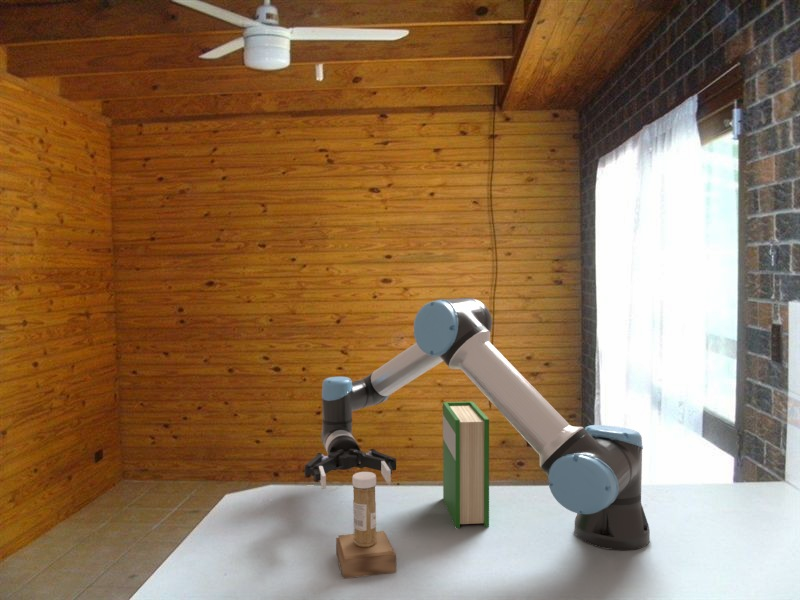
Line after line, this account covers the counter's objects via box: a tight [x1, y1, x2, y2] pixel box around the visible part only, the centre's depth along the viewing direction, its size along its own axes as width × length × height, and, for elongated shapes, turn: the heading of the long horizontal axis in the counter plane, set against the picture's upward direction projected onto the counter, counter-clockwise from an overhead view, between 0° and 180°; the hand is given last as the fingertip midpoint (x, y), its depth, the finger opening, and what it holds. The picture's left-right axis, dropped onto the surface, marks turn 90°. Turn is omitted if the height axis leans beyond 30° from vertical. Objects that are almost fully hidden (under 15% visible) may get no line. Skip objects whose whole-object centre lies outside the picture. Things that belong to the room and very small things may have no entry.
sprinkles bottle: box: [351, 471, 377, 547], centre depth 122 cm, size 5×5×13 cm
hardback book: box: [442, 401, 490, 529], centre depth 147 cm, size 18×7×24 cm, turn 5°
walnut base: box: [335, 530, 397, 580], centre depth 123 cm, size 10×10×4 cm
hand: (356, 479), depth 132 cm, fingers open, 13 cm apart
